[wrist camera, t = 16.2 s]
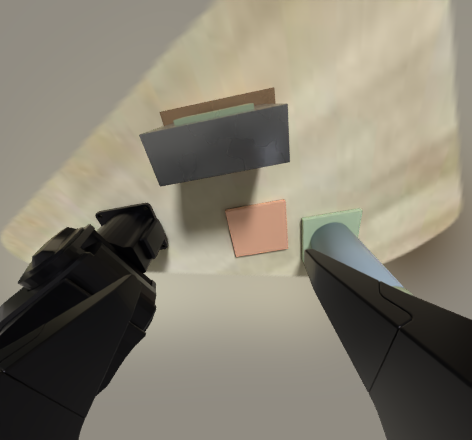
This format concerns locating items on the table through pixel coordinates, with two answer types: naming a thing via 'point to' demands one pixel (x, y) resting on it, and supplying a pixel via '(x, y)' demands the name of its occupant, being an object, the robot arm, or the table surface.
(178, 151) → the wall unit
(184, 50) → the table surface
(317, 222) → the sage pad
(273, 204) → the terracotta pad
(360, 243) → the cartridge
